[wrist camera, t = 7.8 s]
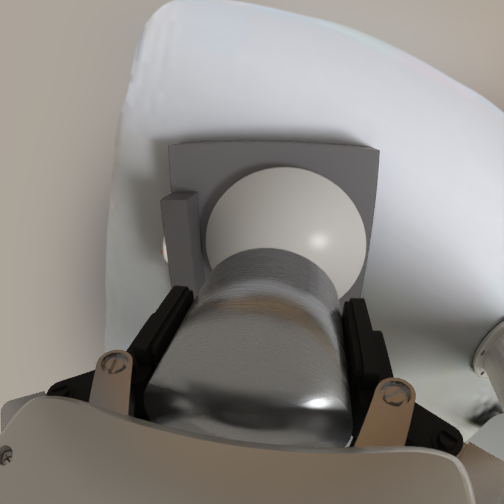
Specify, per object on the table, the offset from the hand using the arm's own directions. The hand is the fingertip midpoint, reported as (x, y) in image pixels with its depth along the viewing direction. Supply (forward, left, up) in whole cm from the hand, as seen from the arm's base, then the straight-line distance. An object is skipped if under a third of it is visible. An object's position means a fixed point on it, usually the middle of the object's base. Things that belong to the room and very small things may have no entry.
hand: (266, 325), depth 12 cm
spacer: (0, 0, -1) cm, 1 cm away
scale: (+2, +4, -20) cm, 20 cm away
